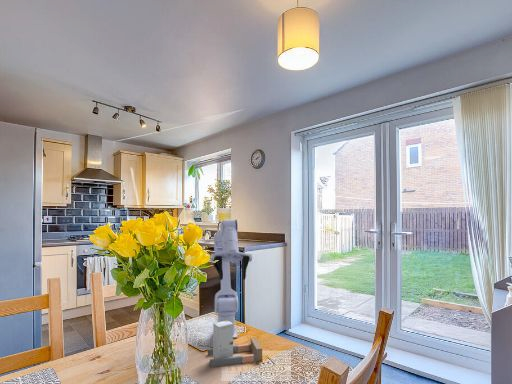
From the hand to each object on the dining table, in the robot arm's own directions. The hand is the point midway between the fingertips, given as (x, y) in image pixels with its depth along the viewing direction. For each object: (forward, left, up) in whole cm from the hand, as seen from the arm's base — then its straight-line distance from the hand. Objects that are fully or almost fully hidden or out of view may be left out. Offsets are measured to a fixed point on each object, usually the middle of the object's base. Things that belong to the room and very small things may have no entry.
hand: (233, 278), depth 101 cm
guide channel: (-8, +2, -29) cm, 31 cm away
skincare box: (-8, -2, -30) cm, 31 cm away
